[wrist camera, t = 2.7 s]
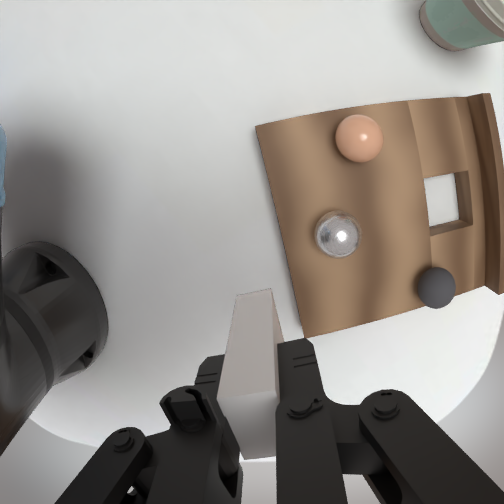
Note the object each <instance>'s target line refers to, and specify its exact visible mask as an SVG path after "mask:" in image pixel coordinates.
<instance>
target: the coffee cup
mask: <svg viewBox="0 0 504 504" xmlns="http://www.w3.org/2000/svg"><path fill="white" fill-rule="evenodd" d="M420 21H421V24H422V26H423V28H424V30H425V32H426V33H427V34H428V36H429V37H430V38H431V39H432V40H433V41H434V42H435V43H436V44H438V45H439V46H441V47H442V48H444V49H447V50H450V51H459V50H463V49H467V48H472V47H476V46H481V45H486V44H491V43H496V42H501V41H504V0H426V1H425V3H424V4H423V5H422V7H421V9H420Z"/></svg>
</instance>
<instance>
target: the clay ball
mask: <svg viewBox="0 0 504 504" xmlns="http://www.w3.org/2000/svg"><path fill="white" fill-rule="evenodd" d="M335 140H336V144H337V147H338V149H339V151H340V152H341V153H342V154H343V156H345V157H346V158H347V159H349V160H351V161H354V162H359V163H363V162H368V161H371V160H373V159H374V158H375V157H377V156H378V155H379V153H380V152H381V150H382V147H383V143H384V137H383V132H382V130H381V128H380V126H379V125H378V124H377V122H376V121H374V120H373V119H372V118H370V117H368V116H365V115H360V114H357V115H351V116H348V117H347V118H345V119H344V120H342V121H341V123H340V124H339V125H338V127H337V130H336V135H335Z"/></svg>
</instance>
